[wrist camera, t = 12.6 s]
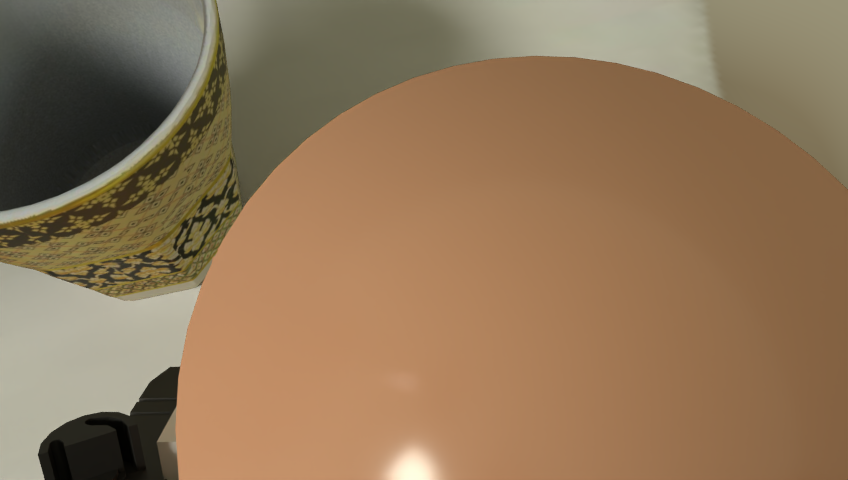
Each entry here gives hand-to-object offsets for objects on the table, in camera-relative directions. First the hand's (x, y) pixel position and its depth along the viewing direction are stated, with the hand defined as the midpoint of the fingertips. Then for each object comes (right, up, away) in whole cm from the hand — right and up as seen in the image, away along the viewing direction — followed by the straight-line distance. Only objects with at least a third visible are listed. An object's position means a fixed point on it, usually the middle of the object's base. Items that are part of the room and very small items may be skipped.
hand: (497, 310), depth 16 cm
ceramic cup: (-12, +4, +10) cm, 16 cm away
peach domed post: (0, -4, +2) cm, 5 cm away
